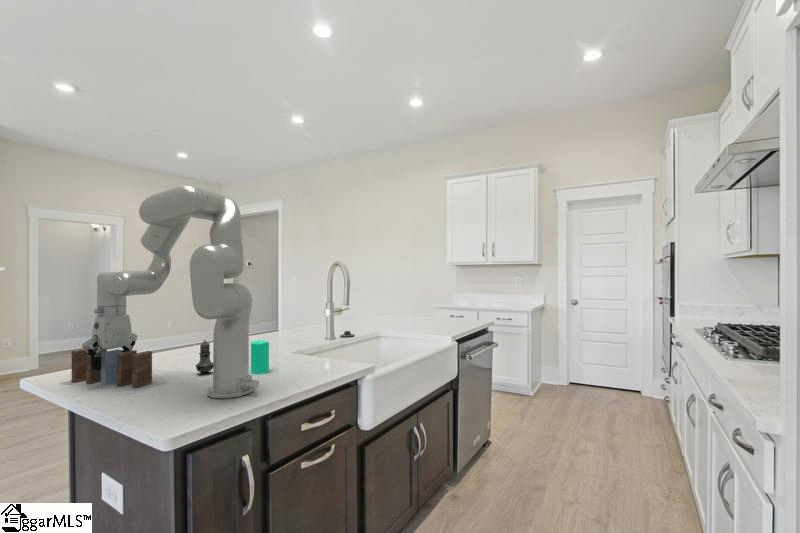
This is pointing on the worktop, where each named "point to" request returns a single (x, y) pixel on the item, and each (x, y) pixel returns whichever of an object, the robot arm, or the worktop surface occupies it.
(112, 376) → the slate tile
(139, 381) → the tile
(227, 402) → the worktop surface
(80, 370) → the tile
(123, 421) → the worktop surface
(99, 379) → the tile
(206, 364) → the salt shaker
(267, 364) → the candle
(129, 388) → the mat
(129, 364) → the tile
